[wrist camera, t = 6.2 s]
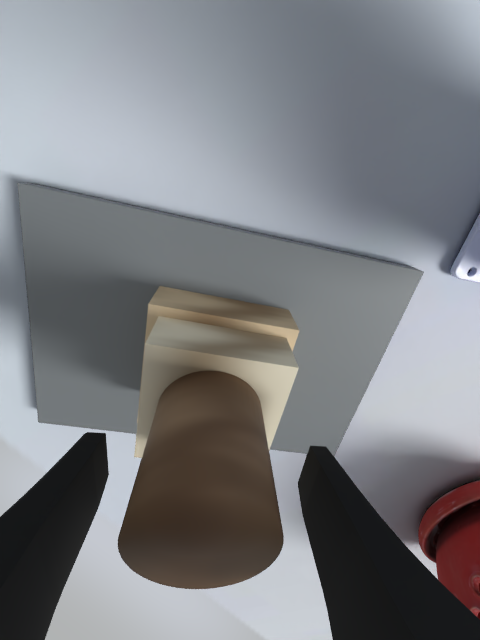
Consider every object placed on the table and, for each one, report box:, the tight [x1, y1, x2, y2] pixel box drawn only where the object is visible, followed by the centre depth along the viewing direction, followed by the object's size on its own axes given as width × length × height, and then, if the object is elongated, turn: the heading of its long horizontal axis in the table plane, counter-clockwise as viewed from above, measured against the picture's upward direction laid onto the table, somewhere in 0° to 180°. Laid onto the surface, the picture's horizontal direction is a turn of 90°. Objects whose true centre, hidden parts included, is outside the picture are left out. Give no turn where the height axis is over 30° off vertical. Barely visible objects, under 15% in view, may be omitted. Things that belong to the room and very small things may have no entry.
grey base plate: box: [18, 183, 424, 456], centre depth 17 cm, size 20×14×1 cm
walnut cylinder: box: [118, 371, 283, 589], centre depth 10 cm, size 4×4×5 cm
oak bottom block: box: [137, 286, 300, 423], centre depth 16 cm, size 7×7×2 cm
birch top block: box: [134, 316, 299, 458], centre depth 14 cm, size 6×6×2 cm
